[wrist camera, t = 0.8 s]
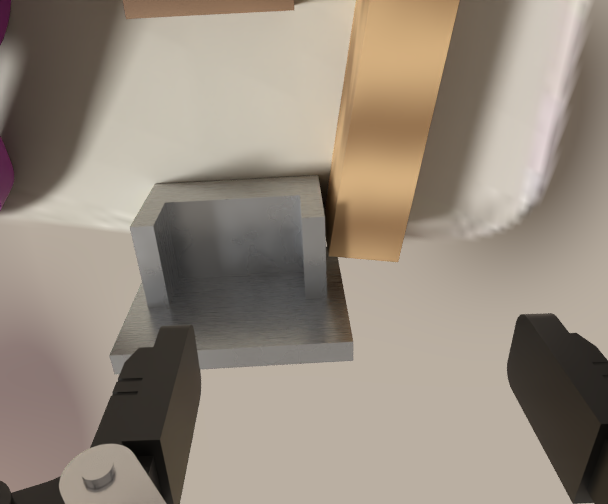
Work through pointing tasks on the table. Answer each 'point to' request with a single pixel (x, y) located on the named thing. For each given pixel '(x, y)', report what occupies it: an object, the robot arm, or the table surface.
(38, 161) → the table surface
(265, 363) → the bracket
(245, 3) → the rest block
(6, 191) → the mounting bracket
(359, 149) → the rail
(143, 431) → the robot arm
